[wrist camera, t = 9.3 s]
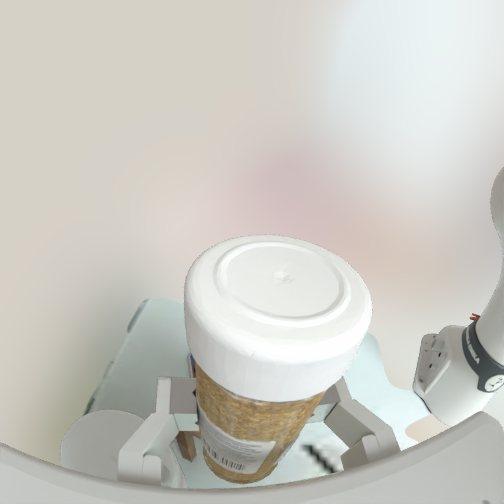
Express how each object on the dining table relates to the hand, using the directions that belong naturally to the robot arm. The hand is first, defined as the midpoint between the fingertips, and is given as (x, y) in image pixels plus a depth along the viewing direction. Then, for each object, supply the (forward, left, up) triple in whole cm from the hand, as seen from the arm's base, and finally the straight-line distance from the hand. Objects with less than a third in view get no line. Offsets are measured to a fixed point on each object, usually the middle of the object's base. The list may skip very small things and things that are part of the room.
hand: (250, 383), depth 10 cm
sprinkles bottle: (+1, +1, -7) cm, 7 cm away
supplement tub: (+5, -7, -26) cm, 27 cm away
